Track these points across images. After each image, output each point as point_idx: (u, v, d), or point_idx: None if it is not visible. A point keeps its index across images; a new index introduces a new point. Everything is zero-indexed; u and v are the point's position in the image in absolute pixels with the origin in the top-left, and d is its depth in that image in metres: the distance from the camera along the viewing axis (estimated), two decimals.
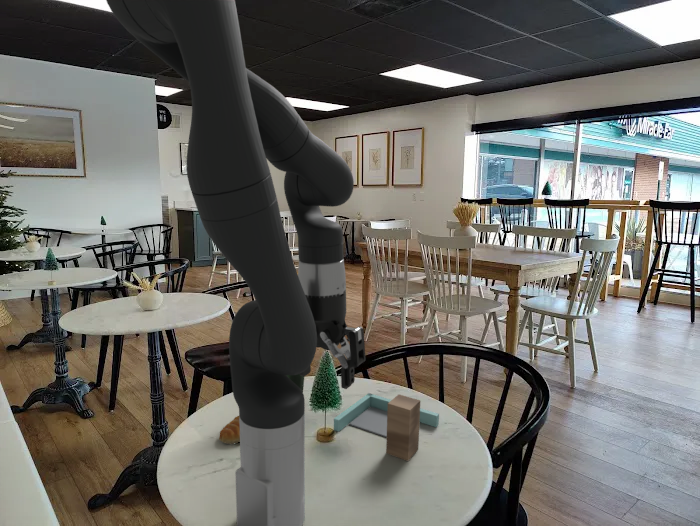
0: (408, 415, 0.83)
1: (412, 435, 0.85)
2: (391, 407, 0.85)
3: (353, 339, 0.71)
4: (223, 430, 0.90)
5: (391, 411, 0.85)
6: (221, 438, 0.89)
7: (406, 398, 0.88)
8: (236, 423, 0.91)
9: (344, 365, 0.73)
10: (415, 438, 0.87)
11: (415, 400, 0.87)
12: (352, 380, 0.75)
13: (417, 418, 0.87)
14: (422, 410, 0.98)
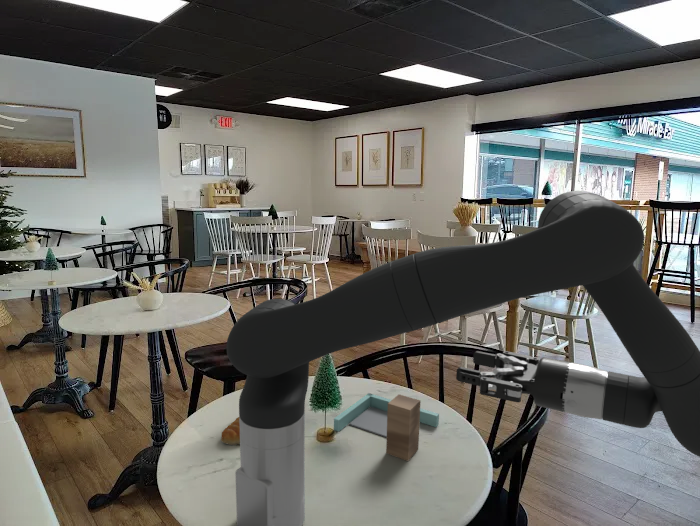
0: (408, 415, 0.83)
1: (412, 435, 0.85)
2: (391, 407, 0.85)
3: (512, 384, 0.68)
4: (225, 431, 0.90)
5: (391, 411, 0.85)
6: (223, 439, 0.89)
7: (406, 398, 0.88)
8: (238, 424, 0.91)
9: (484, 372, 0.72)
10: (416, 438, 0.87)
11: (415, 400, 0.87)
12: (462, 378, 0.74)
13: (417, 418, 0.87)
14: (422, 410, 0.98)
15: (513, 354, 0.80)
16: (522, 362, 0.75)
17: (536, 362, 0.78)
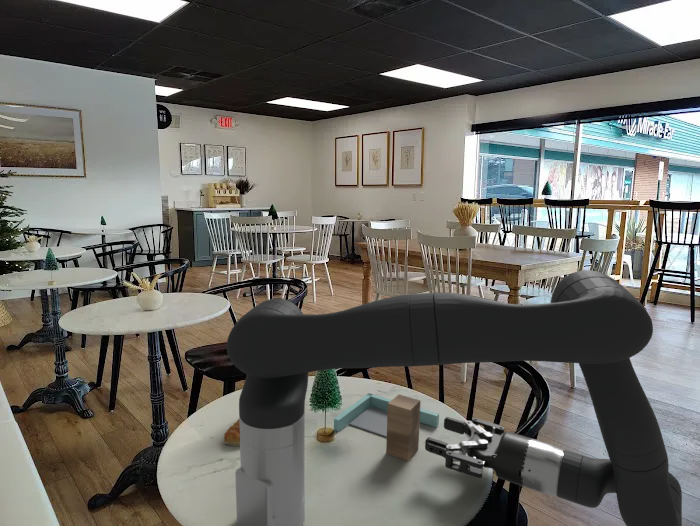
0: (408, 415, 0.83)
1: (412, 435, 0.85)
2: (391, 407, 0.85)
3: (474, 461, 0.73)
4: (228, 432, 0.90)
5: (391, 411, 0.85)
6: (226, 440, 0.89)
7: (406, 398, 0.88)
8: None
9: (450, 445, 0.77)
10: (416, 438, 0.87)
11: (415, 400, 0.87)
12: (430, 449, 0.79)
13: (417, 418, 0.87)
14: (422, 410, 0.98)
15: (481, 422, 0.85)
16: (487, 434, 0.79)
17: (502, 431, 0.83)
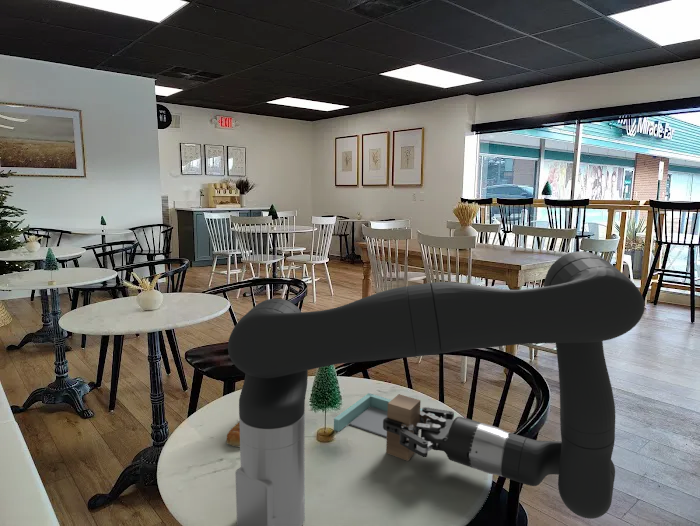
0: (408, 415, 0.83)
1: None
2: (391, 407, 0.85)
3: (420, 440, 0.78)
4: (230, 433, 0.89)
5: (391, 411, 0.85)
6: (229, 441, 0.88)
7: (406, 398, 0.88)
8: None
9: (404, 424, 0.83)
10: None
11: (415, 400, 0.87)
12: (387, 428, 0.85)
13: (417, 418, 0.87)
14: None
15: (431, 410, 0.89)
16: (441, 419, 0.84)
17: (452, 416, 0.88)
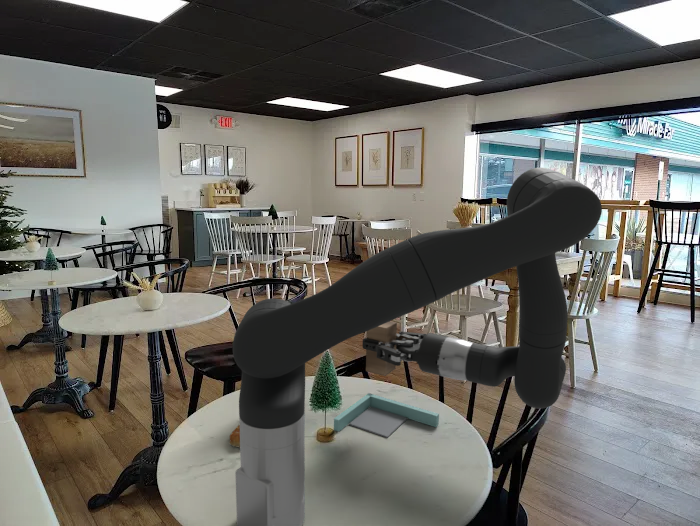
0: (384, 333, 0.92)
1: None
2: None
3: (394, 351, 0.87)
4: (233, 434, 0.89)
5: (370, 331, 0.94)
6: (232, 442, 0.88)
7: None
8: None
9: (381, 341, 0.92)
10: None
11: (392, 322, 0.95)
12: (366, 346, 0.93)
13: (394, 338, 0.95)
14: (422, 410, 0.98)
15: (407, 333, 0.97)
16: (415, 337, 0.92)
17: None
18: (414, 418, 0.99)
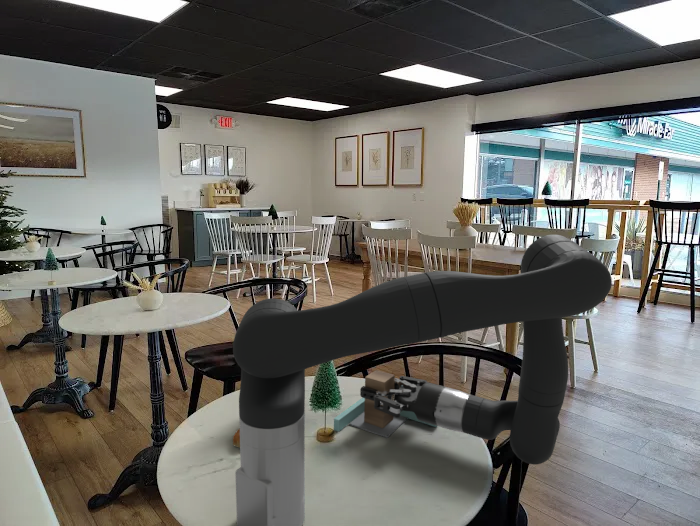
0: (382, 387, 0.94)
1: None
2: (368, 380, 0.96)
3: (393, 403, 0.88)
4: (237, 435, 0.89)
5: (368, 384, 0.96)
6: (236, 443, 0.88)
7: (382, 373, 0.98)
8: None
9: (379, 391, 0.93)
10: None
11: (390, 374, 0.97)
12: (364, 395, 0.94)
13: None
14: None
15: (407, 378, 0.99)
16: (412, 385, 0.94)
17: None
18: (414, 418, 0.99)
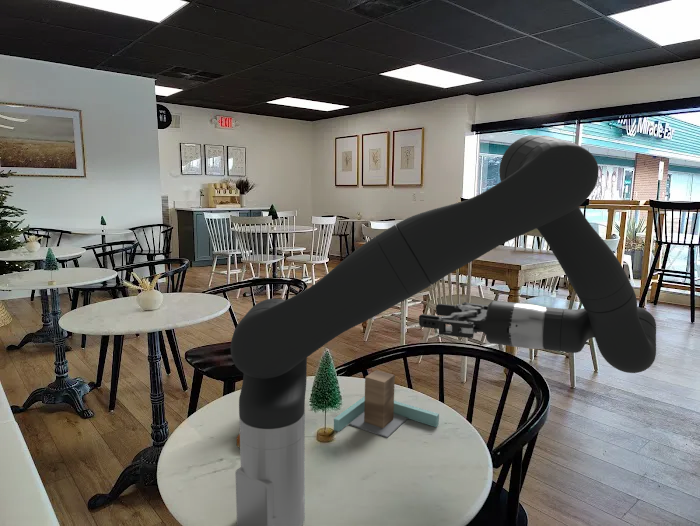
0: (382, 387, 0.94)
1: (386, 405, 0.96)
2: (368, 380, 0.96)
3: (465, 323, 0.78)
4: None
5: (368, 384, 0.96)
6: None
7: (382, 373, 0.98)
8: None
9: (442, 316, 0.82)
10: (390, 408, 0.97)
11: (390, 374, 0.97)
12: (424, 323, 0.83)
13: (392, 390, 0.97)
14: (422, 410, 0.98)
15: (470, 304, 0.90)
16: (476, 307, 0.85)
17: None
18: (414, 418, 0.99)
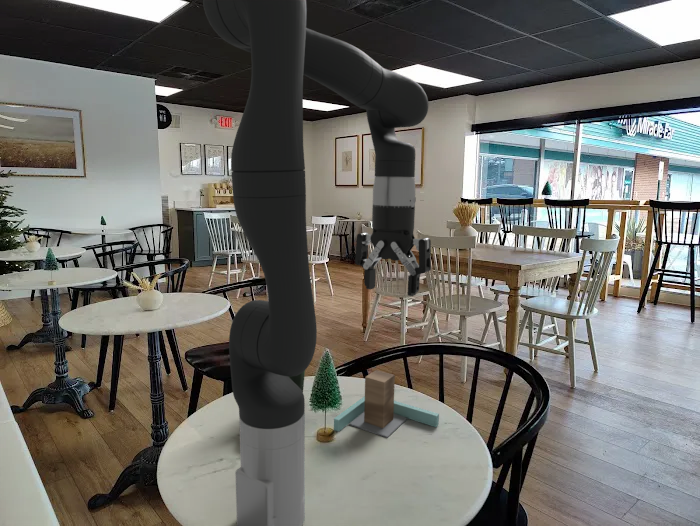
0: (382, 387, 0.94)
1: (386, 405, 0.96)
2: (368, 380, 0.96)
3: (423, 246, 0.80)
4: None
5: (368, 384, 0.96)
6: None
7: (382, 373, 0.98)
8: None
9: (412, 272, 0.81)
10: (390, 408, 0.97)
11: (390, 374, 0.97)
12: (417, 288, 0.83)
13: (392, 390, 0.97)
14: (422, 410, 0.98)
15: (359, 255, 0.87)
16: (381, 245, 0.83)
17: (363, 234, 0.86)
18: (414, 418, 0.99)
